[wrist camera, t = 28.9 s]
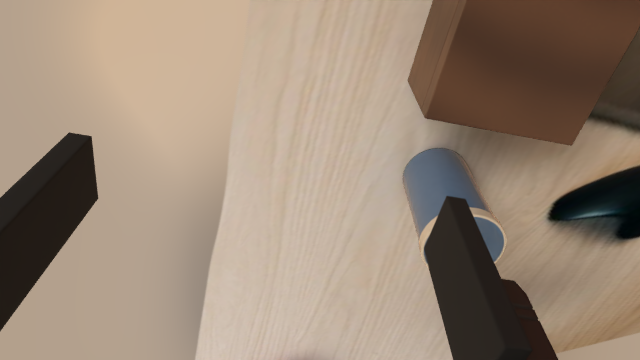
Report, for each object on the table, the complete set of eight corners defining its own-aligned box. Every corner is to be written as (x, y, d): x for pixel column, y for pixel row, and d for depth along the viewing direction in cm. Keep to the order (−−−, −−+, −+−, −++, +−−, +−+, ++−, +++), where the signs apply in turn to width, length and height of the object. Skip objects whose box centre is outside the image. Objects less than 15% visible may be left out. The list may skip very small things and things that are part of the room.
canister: (436, 133, 43) (472, 209, 33) (483, 172, 45) (530, 253, 35) (387, 180, 46) (405, 262, 36) (433, 213, 48) (462, 300, 38)
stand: (454, -69, 34) (487, -59, 27) (599, -35, 35) (665, -18, 28) (407, 80, 40) (424, 118, 33) (531, 105, 41) (572, 146, 35)
